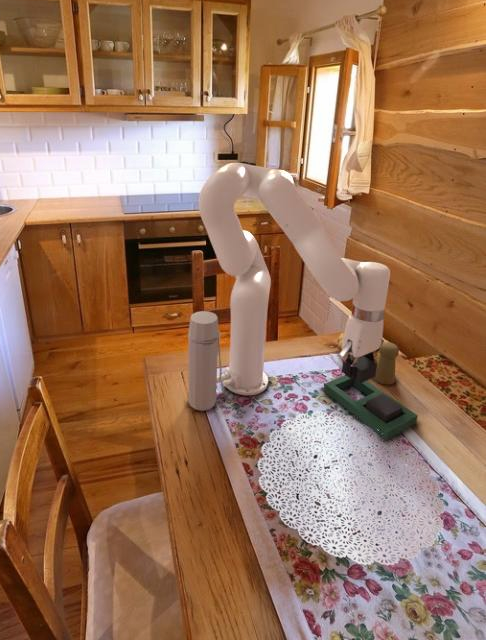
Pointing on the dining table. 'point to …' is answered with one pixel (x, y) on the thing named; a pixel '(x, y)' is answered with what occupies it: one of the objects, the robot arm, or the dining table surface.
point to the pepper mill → (386, 363)
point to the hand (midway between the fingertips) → (358, 372)
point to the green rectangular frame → (365, 415)
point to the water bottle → (203, 360)
